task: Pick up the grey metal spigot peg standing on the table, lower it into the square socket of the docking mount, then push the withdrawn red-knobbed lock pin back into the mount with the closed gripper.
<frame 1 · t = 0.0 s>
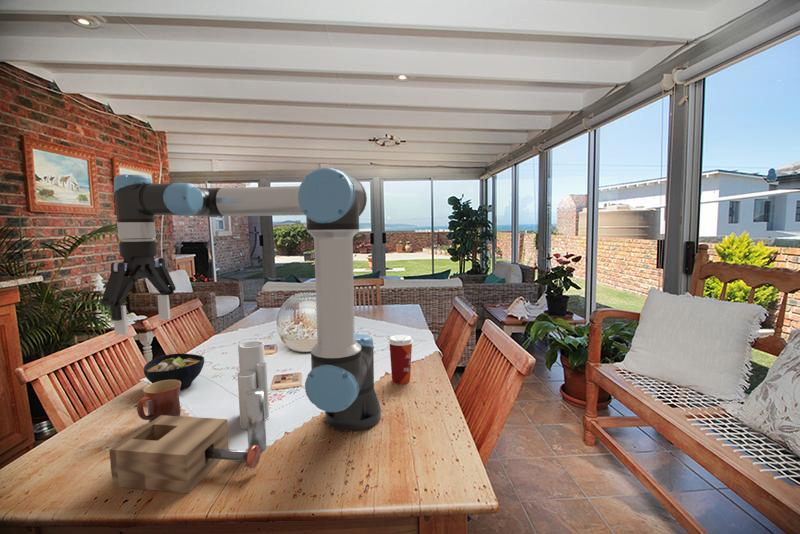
hand: (144, 326, 95), 28 cm above the table, fingers open, 13 cm apart
bowl: (176, 387, 126), on the table
spigot: (257, 448, 90), on the table
vase: (255, 417, 105), on the table
coffee cup: (401, 381, 129), on the table
lock pin: (225, 454, 81), point 4 cm above the table, slide at 4.5 cm
mug: (160, 426, 101), on the table
dock: (172, 467, 83), on the table
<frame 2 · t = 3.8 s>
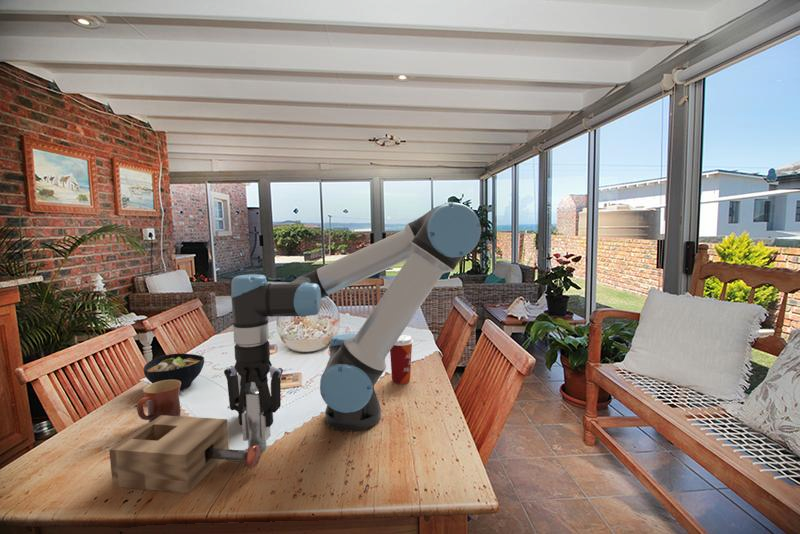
hand: (257, 437, 90), 3 cm above the table, fingers closed on spigot, 4 cm apart
spigot: (257, 448, 90), on the table, touching gripper
everything else where it was.
when the fingers open (9 cm above the table, at t = 8.2 s): spigot drops 2 cm, resting on dock.
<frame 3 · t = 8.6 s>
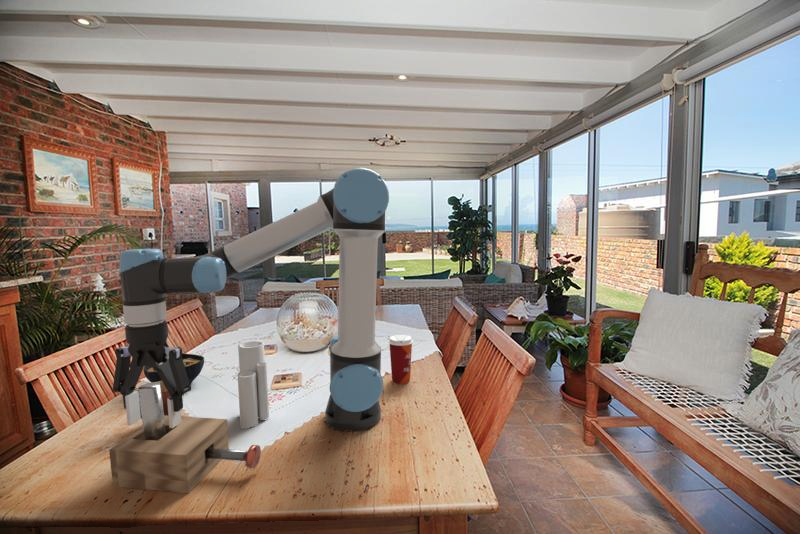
hand: (154, 423, 83), 10 cm above the table, fingers open, 9 cm apart
spigot: (157, 446, 83), point 5 cm above the table, touching dock
everything else where it was.
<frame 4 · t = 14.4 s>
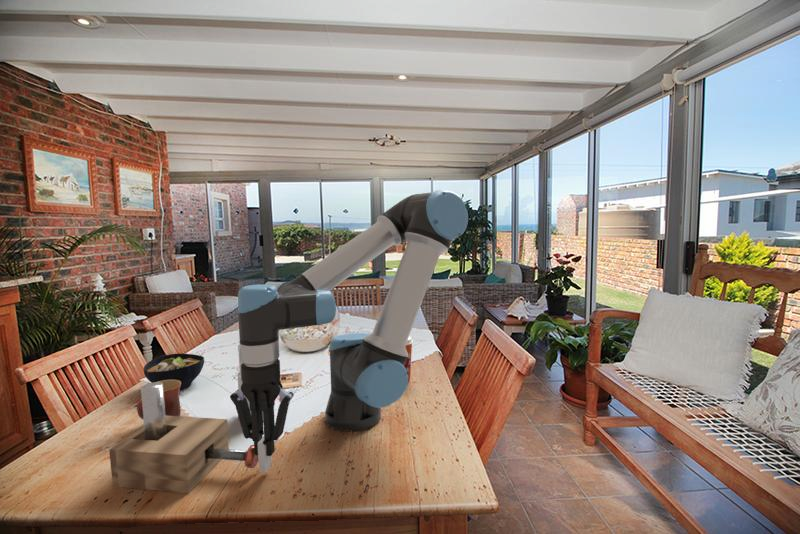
hand: (265, 468, 80), 2 cm above the table, fingers closed
lock pin: (225, 454, 81), point 4 cm above the table, slide at 4.3 cm, touching gripper
everything else where it was.
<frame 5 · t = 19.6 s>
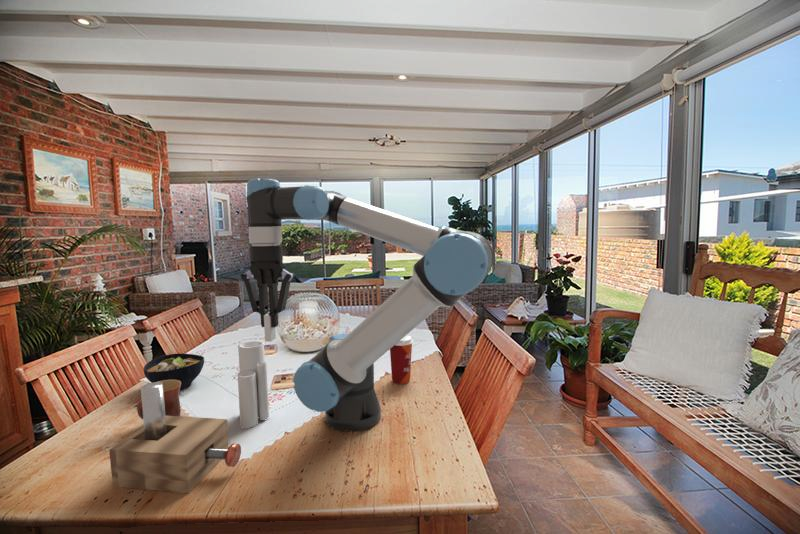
hand: (270, 339, 94), 24 cm above the table, fingers closed
lock pin: (206, 453, 82), point 4 cm above the table, slide at 0.0 cm
everything else where it was.
at the end: spigot 0.0 cm from the target spot on the dock, point 4.5 cm above the dock's base; lock pin slide at 0.0 cm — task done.
